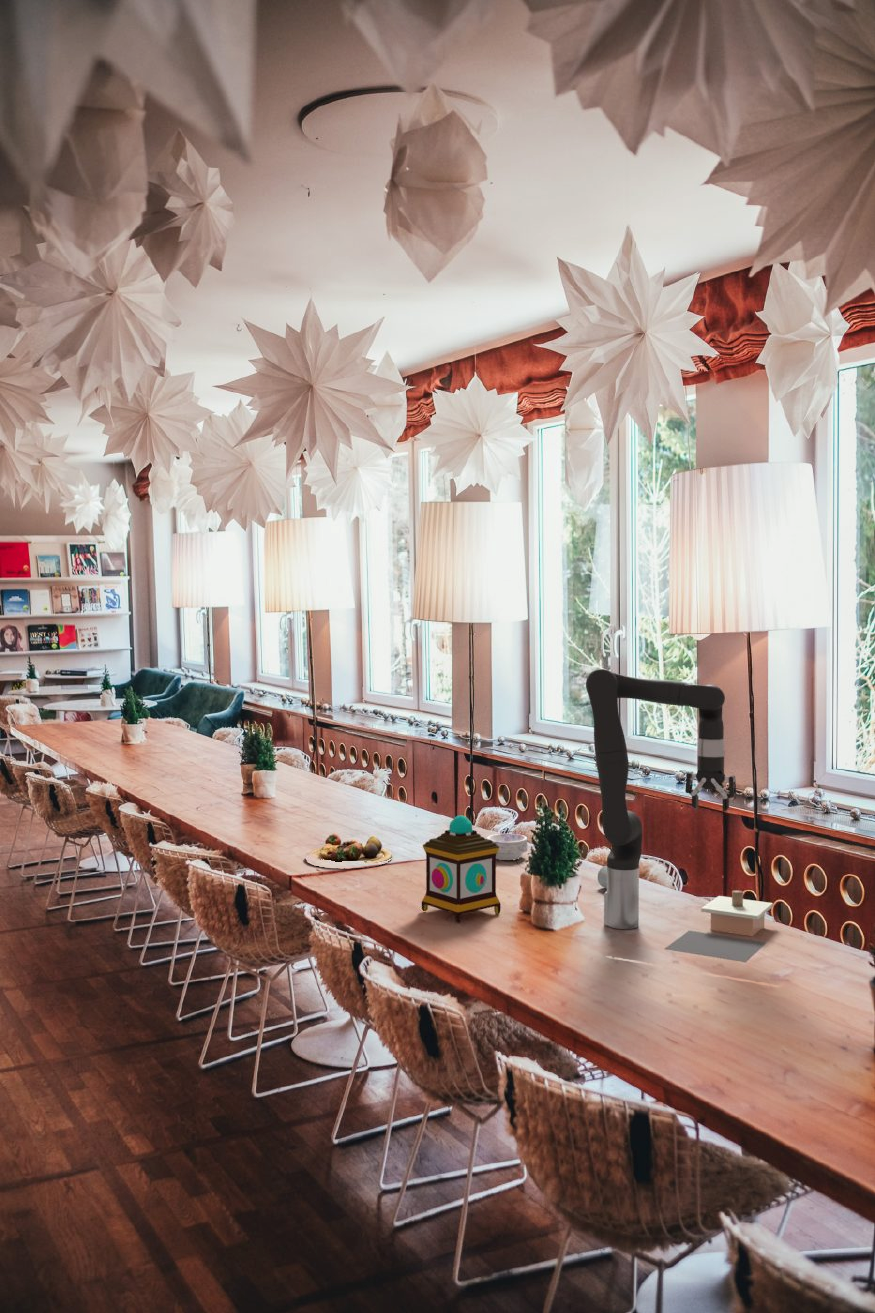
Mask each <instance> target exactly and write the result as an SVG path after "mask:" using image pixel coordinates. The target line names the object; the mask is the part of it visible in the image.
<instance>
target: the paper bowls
mask: <svg viewBox="0 0 875 1313" xmlns="http://www.w3.org/2000/svg"><path fill="white" fill-rule="evenodd" d="M485 839H489V840H492V841H493V843H496V844H497V846H499V850H498V852H497V854H496V860H497V859H499V860H498V861H501V860H513V859H518V858H520V859H521V858H522V855H523V854H525V853H526V852H527V851H528V837H527V836H526V835H522V834H518V833H496V834H490V835H488V836H486V838H485ZM518 860H519V859H518ZM513 861H514V860H513Z"/></svg>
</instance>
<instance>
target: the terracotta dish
mask: <svg viewBox="0 0 875 1313" xmlns="http://www.w3.org/2000/svg"><path fill="white" fill-rule="evenodd" d="M765 914H766V913H765ZM765 914H764V915H762V916H761V917H760V918H759V919H758V920H756V919H749V918H742V917H735V916H728V915H721V914H714V913H710V930H711V931H715V932H716V931H717V932H723V933H730V934H736V935H743V936H749V937H753V936H755V935H756V934H757V933H758V932H760V931H761V929H765Z"/></svg>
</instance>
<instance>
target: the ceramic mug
mask: <svg viewBox="0 0 875 1313" xmlns="http://www.w3.org/2000/svg"><path fill="white" fill-rule="evenodd" d="M597 882H598V884H599V885H600V886H601V887H602V888H604V889H606V890H607V864H606V865H604V866H602V867H601V868H600V869H599V871H598V873H597Z"/></svg>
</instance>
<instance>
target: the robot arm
mask: <svg viewBox="0 0 875 1313" xmlns="http://www.w3.org/2000/svg"><path fill="white" fill-rule="evenodd" d="M585 688H586V691H587V694H588V698H589V702H590V708H591V711H592V715H593V716H592V717H593V743H594V756H595V762H596V768H597V775H598V783H599V787H600V788H599V789H600V790H599V791H600V796H601V812H602V816H601V817H602V830H603V835H604V837H605V839H606V840H607V842H608V843H610V845H611V848H610V850H609V853H608V855H607V858H606V865H607V889H606V891H605V892H604V893H603V897H604V898H603V925H604V926H608V927H609V928H613V929H618V930H633V929H636V928H638V927H639V924H640V923H639V922H640V919H639V915H640V914H639V912H640V911H639V910H640V908H639V906H640V901H639V900H640V897H639V896H640V894H639V893H640V891H639V890H640V889H639V888H640V887H639V886H640V885H639V884H640V865H639V864H640V861H641V857H642V851H643V849H642V847H643V825H642V822H641V819H640V817H639V816H638V815H637V814H636V813H635V812H633V811H631V810H628V808H627V800H626V793H627V791H626V790H627V783H628V778H629V771H630V770H629V768H630V766H629V765H630V764H629V756H628V755H629V754H628V748H627V744H626V739H625V734H624V730H623V726H622V723H621V720H620V714H619V702H618V699H631V700H632V699H633V700H639V701H647V702H652V703H655V704H661V705H669V706H678V707H679V706H681V707H690V708H695V709H698V716H699V718H698V719H699V720H698V721H699V723H698V739H697V740H698V741H697V769H696V770H697V772H696V773H694V772H692V771H690V772H686V776H685V794H689V795H690V796H691V806H692V807H693V809H694V810H695V809H696V810H697V809H699V793H700V792H701V790H703V789H704V790H709V789H710V790H712V791H714V790H716V791H718V792H719V793H720V795H721V796H722V812H724V813H726V812H728V810H729V809H730V798H734V797H736V796H737V785H736V784H737V783H736V782H737V781H736V776H735V775H725V753H726V751H725V740H724V736H725V735H724V733H725V732H724V729H725V728H724V726H725V725H724V721H723V705H724V704H725V701H726V696H725V693H724V691H723V690H722V689H721V688H720V687H719V686H717V685H715V684H707V685H706V684H704V685H703V684H691V683H689V682H685V681H680V680H679V681H678V680H671V679H660V678H659V679H657V678H641V677H633V676H627V675H622V674H619V673H616V672H612V671H611V670H609V669H606V668H597V669H595V670H593V671H591V672H590V674H589V675H588V676H587V678H586V680H585ZM695 778H696V780H697V782H698V784H697V785H696V786H695V787H694V789H693V785H694V784H693V782H694V781H695ZM725 781H726V783H727V784H728V789H729V790H728V789H727V788H726V786H725V785H724V782H725ZM728 791H729V792H728Z"/></svg>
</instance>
